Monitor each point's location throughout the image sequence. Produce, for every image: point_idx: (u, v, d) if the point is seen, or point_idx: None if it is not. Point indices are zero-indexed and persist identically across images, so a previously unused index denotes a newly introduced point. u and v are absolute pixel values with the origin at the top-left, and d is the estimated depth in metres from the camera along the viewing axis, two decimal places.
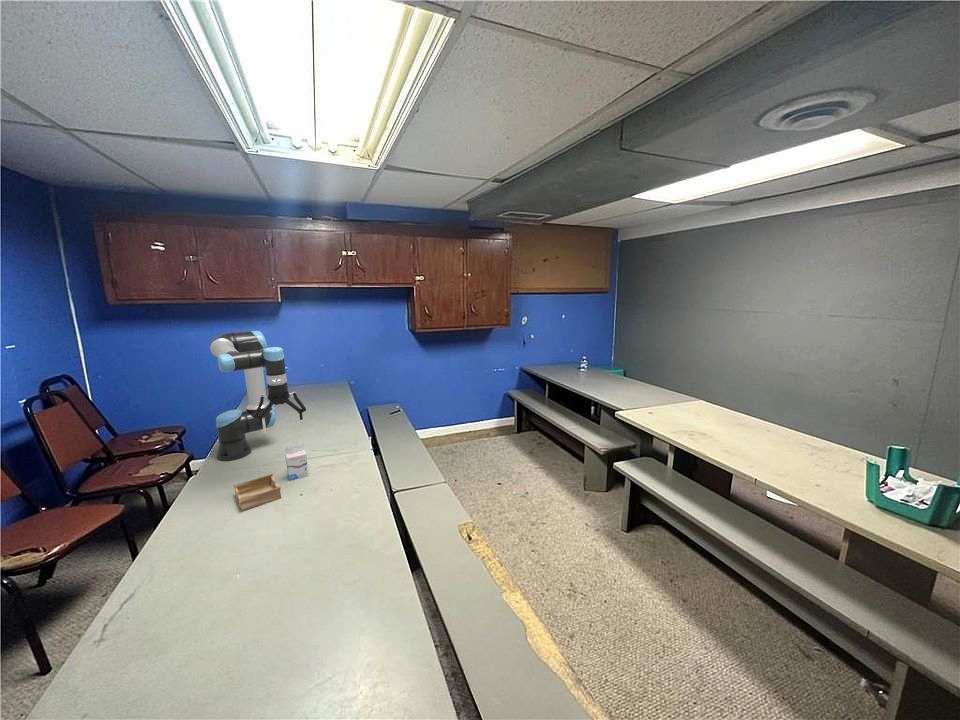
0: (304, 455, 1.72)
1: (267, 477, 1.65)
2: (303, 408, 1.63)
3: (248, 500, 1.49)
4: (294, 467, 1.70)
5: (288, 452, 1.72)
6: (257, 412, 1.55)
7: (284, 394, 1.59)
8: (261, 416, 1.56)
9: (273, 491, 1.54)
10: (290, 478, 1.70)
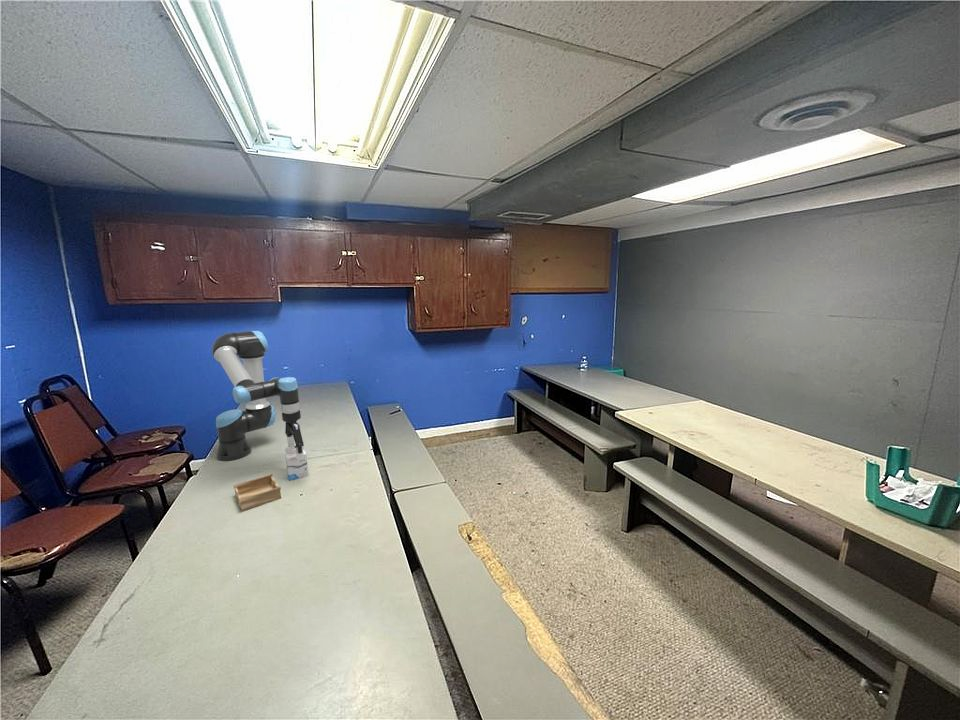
0: (304, 455, 1.72)
1: (267, 477, 1.65)
2: (297, 443, 1.62)
3: (248, 500, 1.49)
4: (294, 467, 1.70)
5: (288, 452, 1.72)
6: (285, 429, 1.75)
7: (291, 423, 1.66)
8: (287, 434, 1.74)
9: (273, 491, 1.54)
10: (290, 478, 1.70)
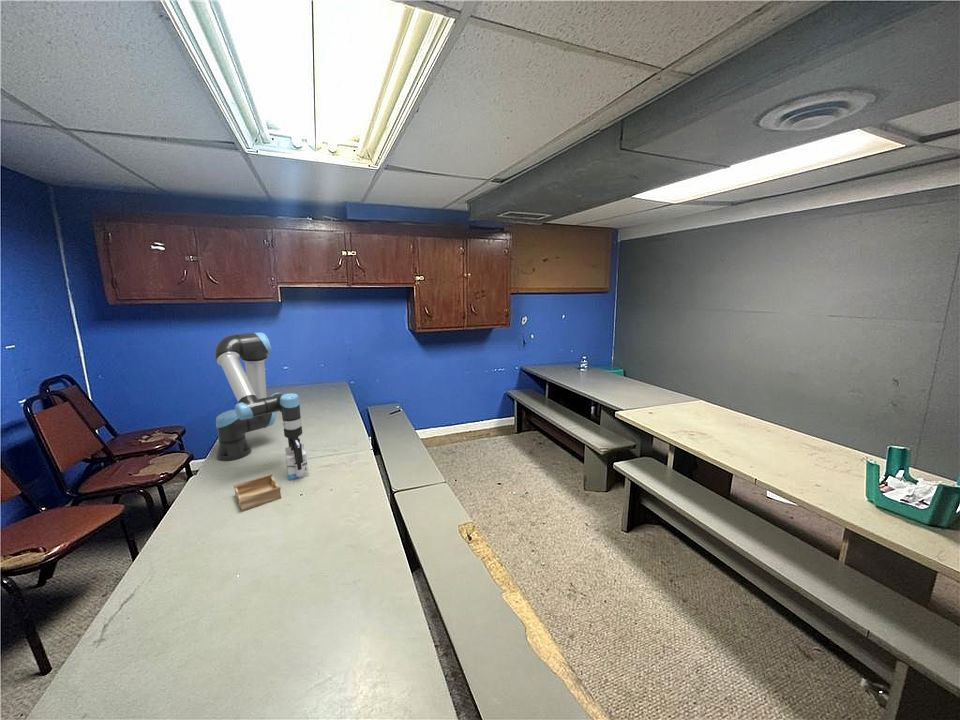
0: (304, 455, 1.72)
1: (267, 477, 1.65)
2: (296, 461, 1.67)
3: (248, 500, 1.49)
4: (294, 467, 1.70)
5: (288, 452, 1.72)
6: None
7: (292, 439, 1.67)
8: None
9: (273, 491, 1.54)
10: (290, 478, 1.70)
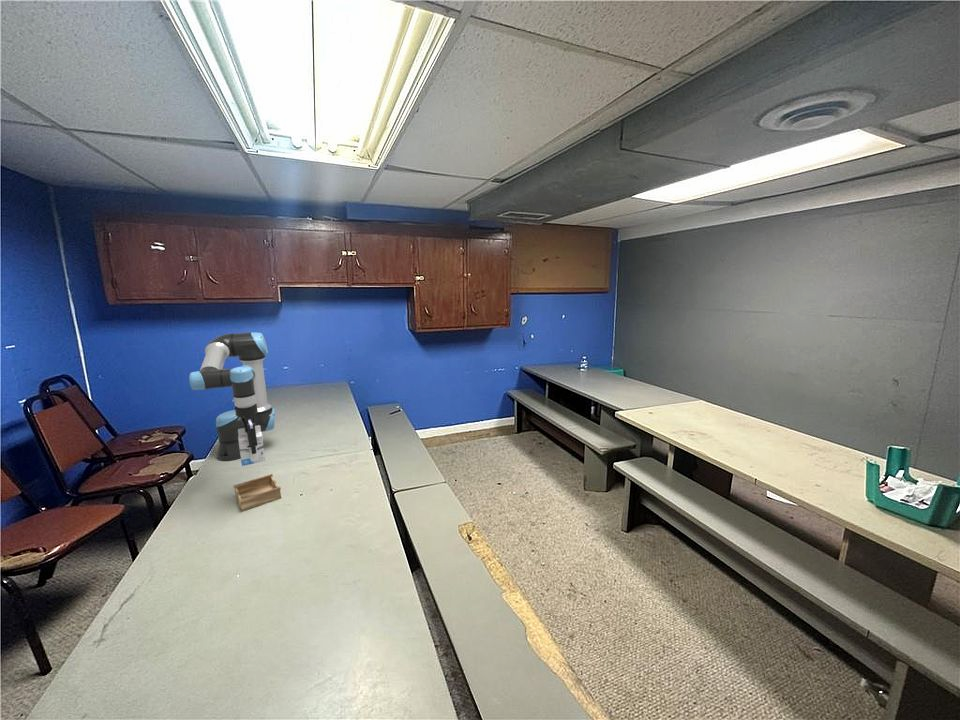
0: (260, 437, 1.51)
1: (267, 477, 1.65)
2: (250, 443, 1.47)
3: (248, 500, 1.49)
4: (248, 450, 1.50)
5: (241, 434, 1.52)
6: None
7: (245, 418, 1.47)
8: None
9: (273, 491, 1.54)
10: (243, 463, 1.50)
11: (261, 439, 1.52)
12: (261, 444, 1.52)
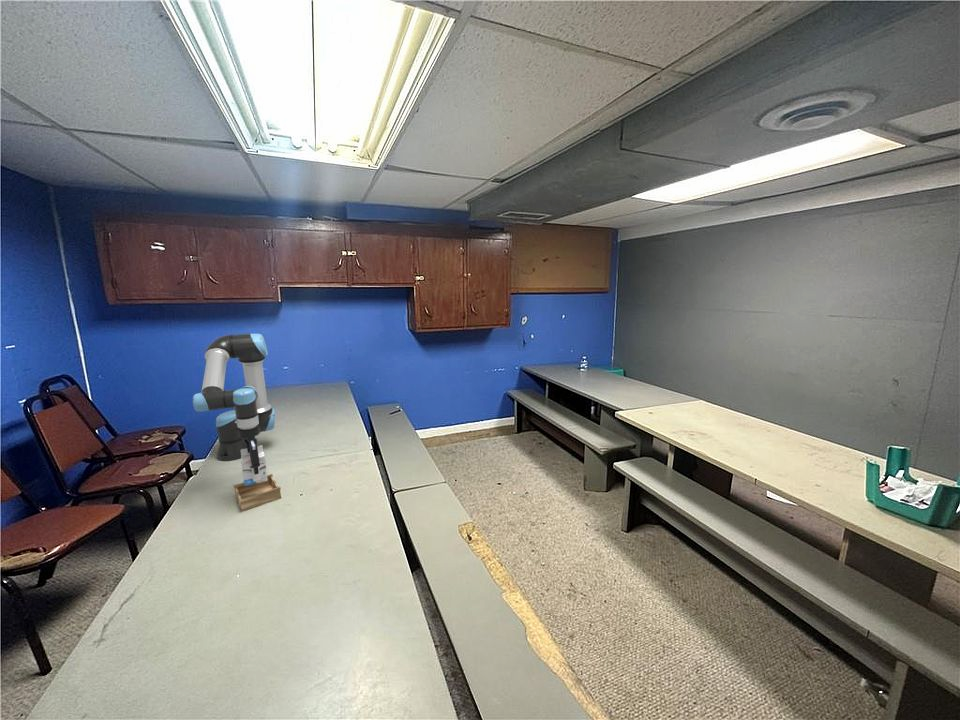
0: (262, 457, 1.53)
1: (267, 477, 1.65)
2: (252, 464, 1.49)
3: (248, 500, 1.49)
4: (250, 471, 1.52)
5: (244, 454, 1.53)
6: None
7: (248, 439, 1.49)
8: None
9: (273, 491, 1.54)
10: (246, 483, 1.52)
11: (263, 459, 1.54)
12: (263, 464, 1.54)
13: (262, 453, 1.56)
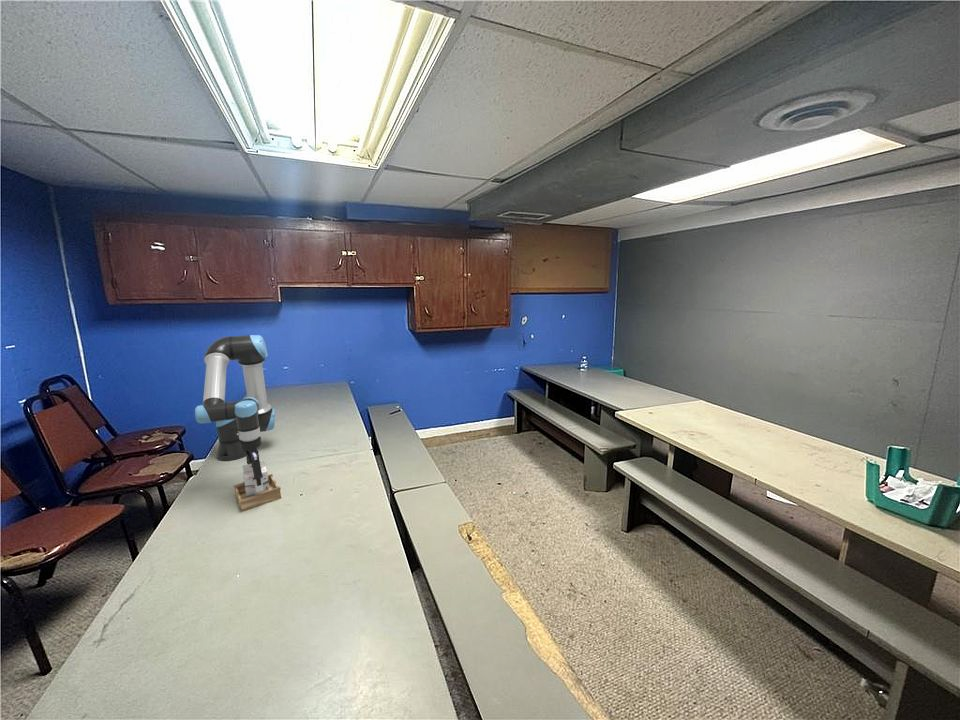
0: (265, 473, 1.55)
1: None
2: (255, 475, 1.48)
3: (248, 500, 1.49)
4: (253, 486, 1.53)
5: (246, 470, 1.55)
6: None
7: (249, 451, 1.50)
8: None
9: (273, 491, 1.54)
10: None
11: (266, 474, 1.55)
12: (266, 479, 1.56)
13: (264, 468, 1.57)
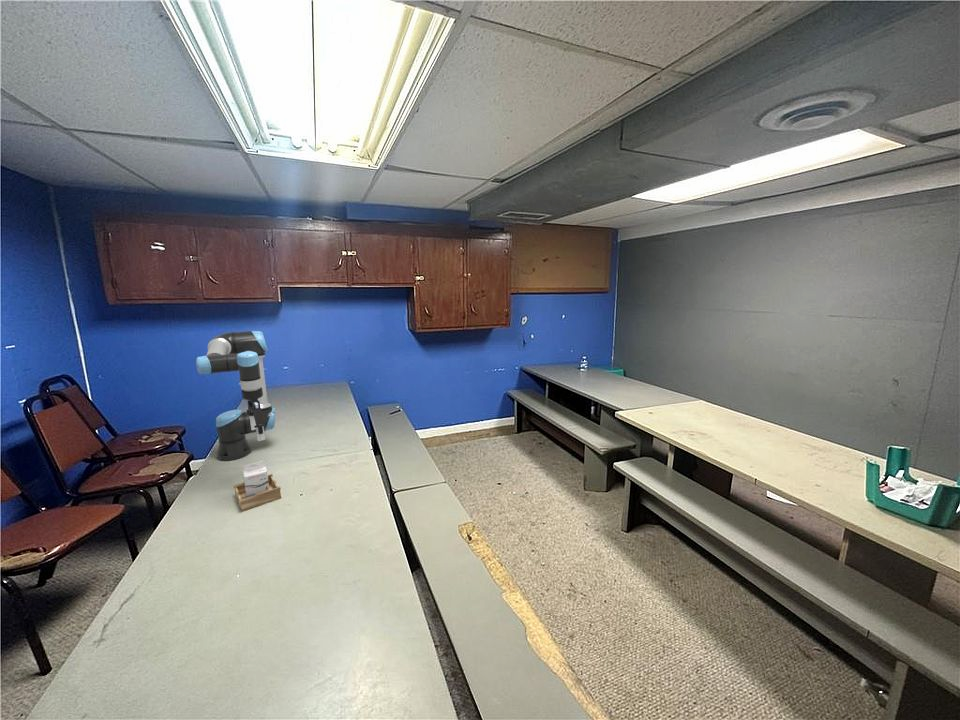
0: (265, 473, 1.55)
1: None
2: (256, 423, 1.50)
3: (248, 500, 1.49)
4: (253, 486, 1.53)
5: (246, 470, 1.55)
6: (248, 408, 1.63)
7: (251, 401, 1.54)
8: (249, 413, 1.63)
9: (273, 491, 1.54)
10: None
11: (266, 474, 1.55)
12: (266, 479, 1.56)
13: (264, 468, 1.57)
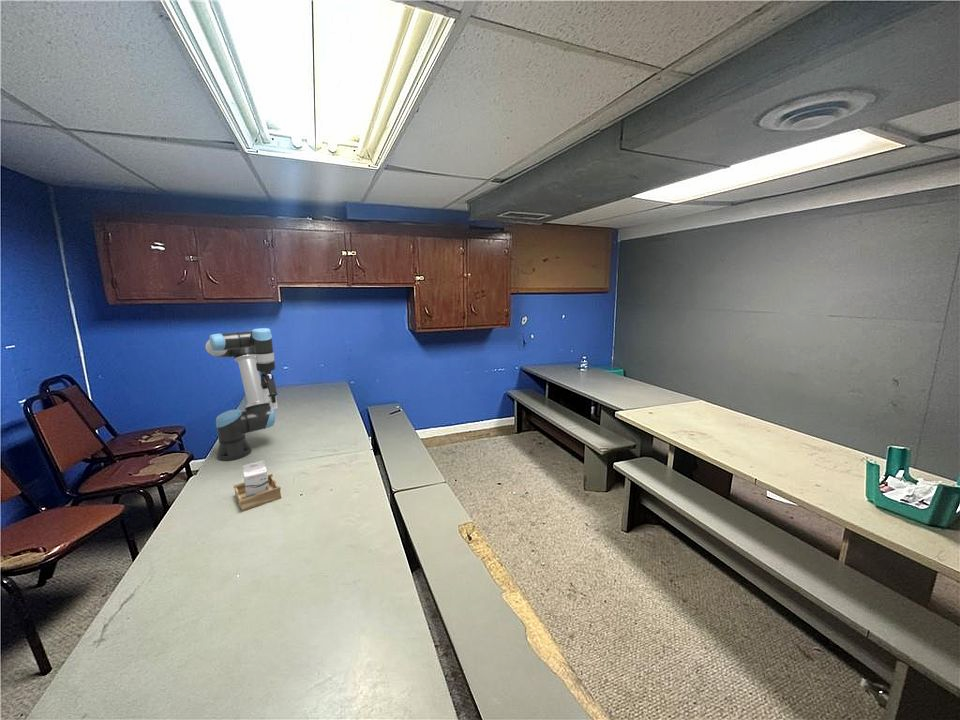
0: (265, 473, 1.55)
1: None
2: (270, 392, 1.65)
3: (248, 500, 1.49)
4: (253, 486, 1.53)
5: (246, 470, 1.55)
6: (261, 382, 1.78)
7: (265, 373, 1.69)
8: (262, 386, 1.77)
9: (273, 491, 1.54)
10: None
11: (266, 474, 1.55)
12: (266, 479, 1.56)
13: (264, 468, 1.57)
